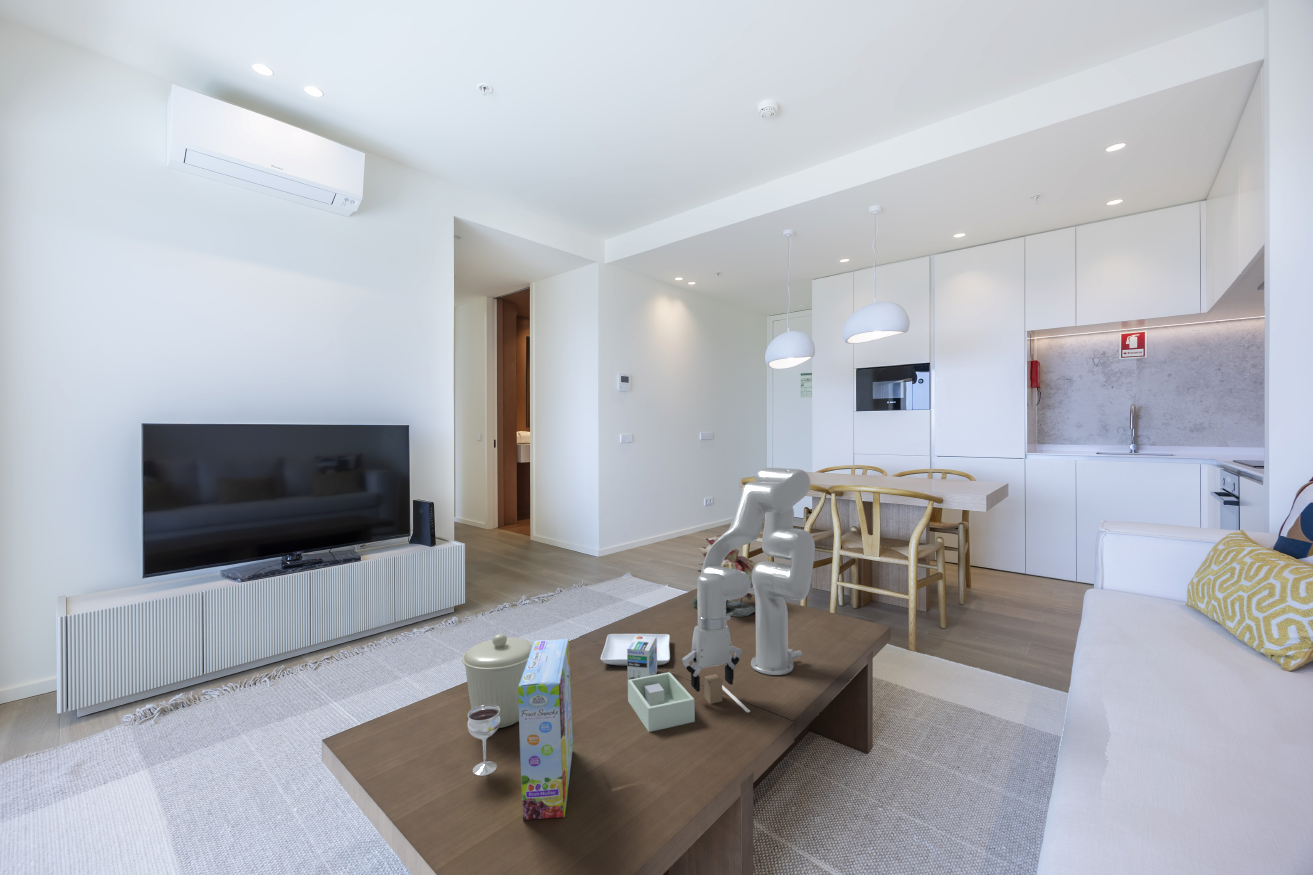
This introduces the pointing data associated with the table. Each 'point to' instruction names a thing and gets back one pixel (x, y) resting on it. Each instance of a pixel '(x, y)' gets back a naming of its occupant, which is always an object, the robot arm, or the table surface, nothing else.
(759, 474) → the robot arm
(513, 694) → the canister
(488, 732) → the wineglass
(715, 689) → the lid
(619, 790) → the table surface
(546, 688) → the snack box
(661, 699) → the grey cube
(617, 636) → the salad plate
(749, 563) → the rose bouquet
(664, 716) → the box
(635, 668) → the light bulb box
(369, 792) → the table surface
